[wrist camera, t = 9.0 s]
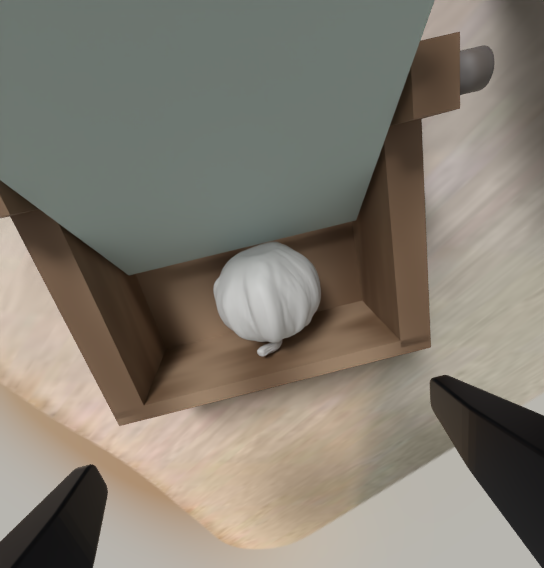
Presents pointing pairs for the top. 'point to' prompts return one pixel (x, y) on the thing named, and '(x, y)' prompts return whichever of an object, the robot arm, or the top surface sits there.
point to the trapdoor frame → (205, 271)
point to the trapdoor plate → (198, 117)
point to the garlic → (267, 294)
